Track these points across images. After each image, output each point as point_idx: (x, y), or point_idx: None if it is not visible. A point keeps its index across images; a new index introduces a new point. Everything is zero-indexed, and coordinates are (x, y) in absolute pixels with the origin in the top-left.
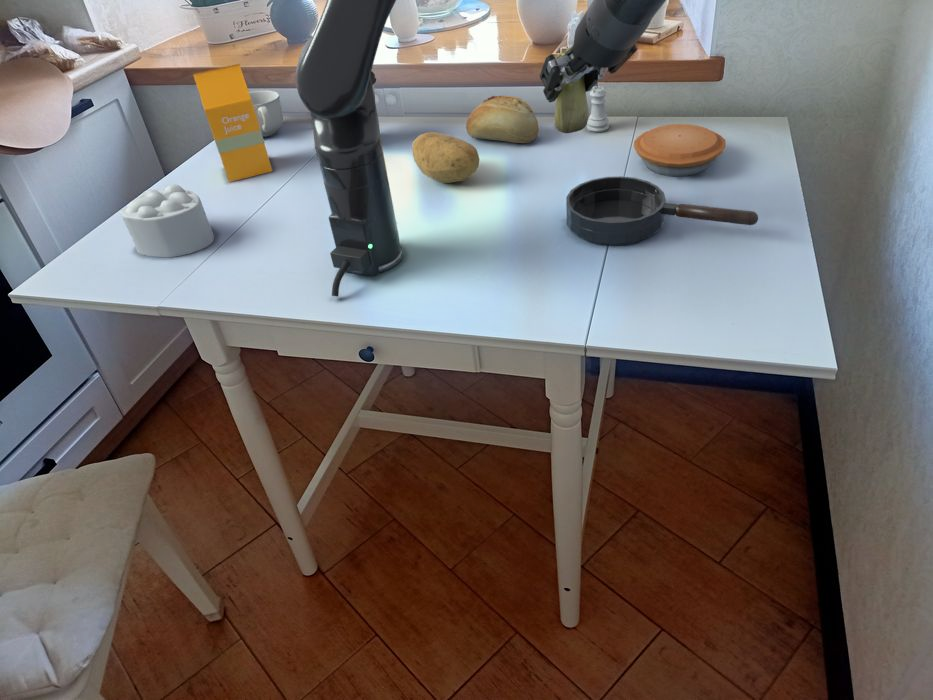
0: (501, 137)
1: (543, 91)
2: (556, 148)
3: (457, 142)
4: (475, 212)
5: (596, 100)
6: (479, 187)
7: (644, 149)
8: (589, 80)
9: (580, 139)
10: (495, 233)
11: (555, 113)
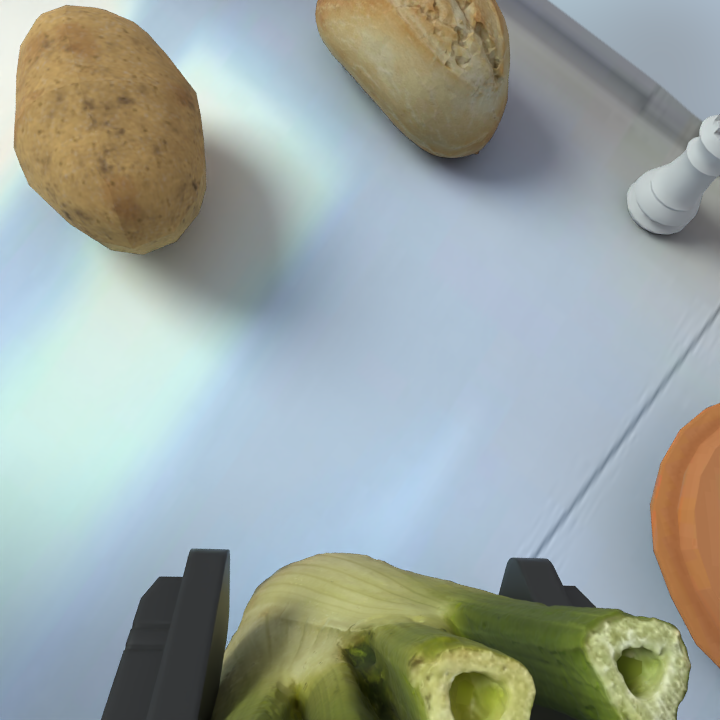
0: (376, 103)
1: (151, 589)
2: (494, 230)
3: (120, 137)
4: (61, 413)
5: (703, 158)
6: (173, 284)
7: (679, 515)
8: (534, 709)
9: (580, 229)
10: (19, 581)
11: (252, 606)
